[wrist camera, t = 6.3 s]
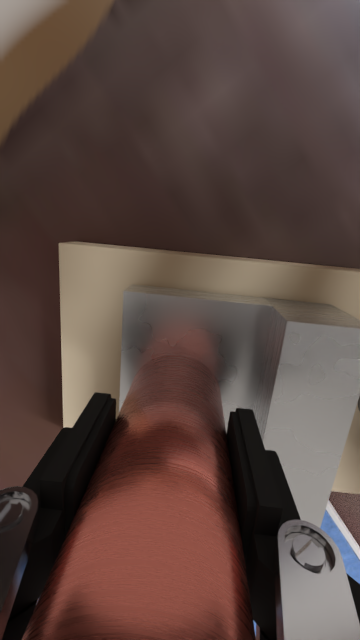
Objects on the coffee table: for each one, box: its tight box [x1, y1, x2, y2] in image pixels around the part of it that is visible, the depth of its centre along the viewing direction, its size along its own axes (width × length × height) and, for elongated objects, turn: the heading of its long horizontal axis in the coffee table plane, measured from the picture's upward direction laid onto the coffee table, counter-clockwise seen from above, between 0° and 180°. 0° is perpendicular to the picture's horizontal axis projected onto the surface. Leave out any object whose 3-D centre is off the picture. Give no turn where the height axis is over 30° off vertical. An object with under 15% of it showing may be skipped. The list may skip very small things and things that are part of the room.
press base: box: [59, 241, 360, 494], centre depth 14 cm, size 23×12×7 cm, turn 85°
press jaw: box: [22, 284, 360, 640], centre depth 9 cm, size 9×9×12 cm
